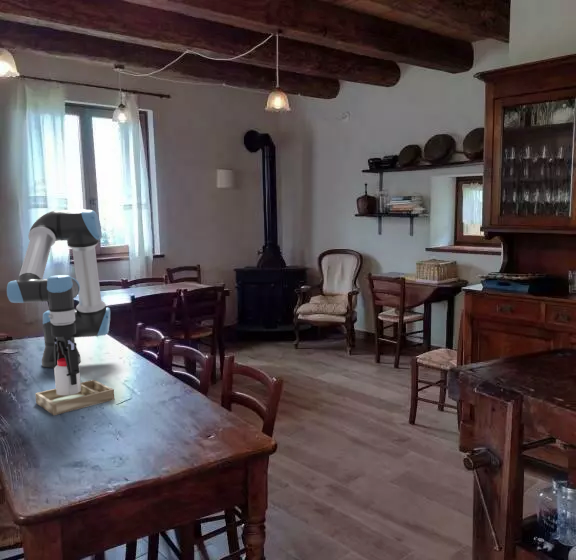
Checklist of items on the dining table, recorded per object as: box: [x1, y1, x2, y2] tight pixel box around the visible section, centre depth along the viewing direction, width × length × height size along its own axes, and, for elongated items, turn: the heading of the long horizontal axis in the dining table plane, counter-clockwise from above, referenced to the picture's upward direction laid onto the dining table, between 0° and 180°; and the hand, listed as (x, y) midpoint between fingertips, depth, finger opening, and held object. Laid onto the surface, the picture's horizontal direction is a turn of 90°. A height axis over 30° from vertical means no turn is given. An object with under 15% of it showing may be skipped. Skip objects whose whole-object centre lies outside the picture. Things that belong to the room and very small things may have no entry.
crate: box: [34, 379, 116, 416], centre depth 188 cm, size 16×20×4 cm
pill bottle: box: [53, 358, 82, 396], centre depth 186 cm, size 8×8×11 cm
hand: (68, 390), depth 187 cm, fingers closed on pill bottle, 8 cm apart
